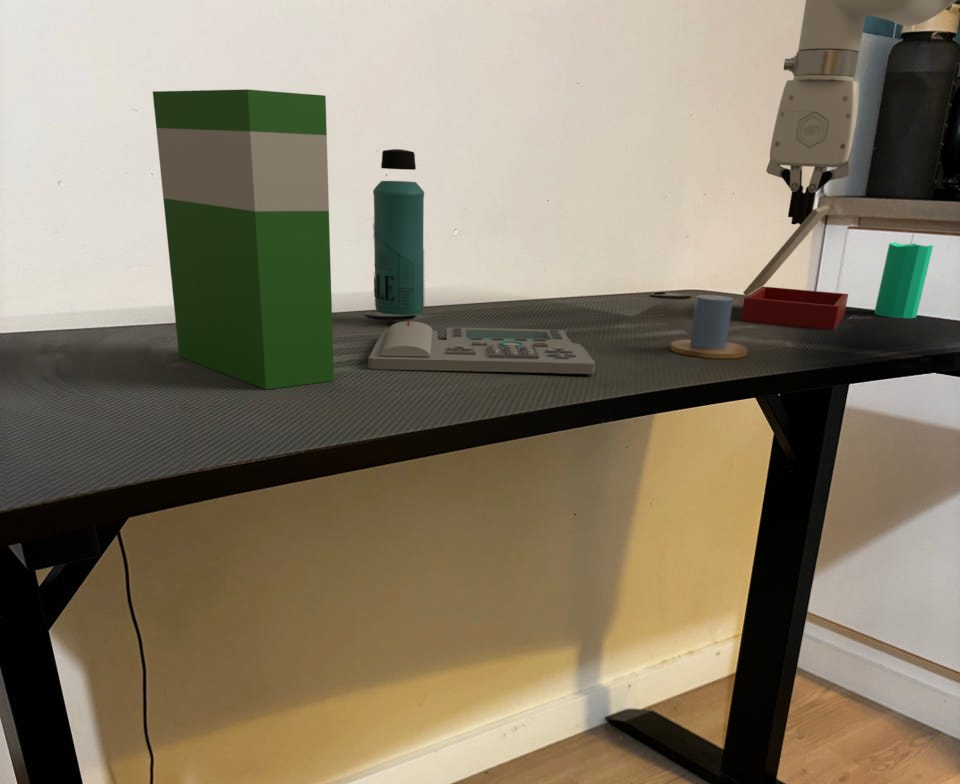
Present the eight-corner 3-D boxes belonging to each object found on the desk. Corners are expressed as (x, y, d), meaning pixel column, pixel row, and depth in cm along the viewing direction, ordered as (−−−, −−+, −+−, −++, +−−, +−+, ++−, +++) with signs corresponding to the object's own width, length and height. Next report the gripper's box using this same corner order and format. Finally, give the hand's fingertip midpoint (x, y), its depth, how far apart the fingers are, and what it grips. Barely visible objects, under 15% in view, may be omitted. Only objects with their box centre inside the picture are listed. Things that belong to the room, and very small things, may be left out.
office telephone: (367, 344, 97) (380, 313, 115) (368, 371, 98) (380, 336, 116) (596, 350, 98) (574, 318, 116) (594, 376, 99) (572, 340, 117)
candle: (921, 323, 142) (942, 235, 136) (881, 321, 142) (900, 233, 136) (906, 317, 147) (926, 232, 142) (867, 315, 147) (885, 230, 142)
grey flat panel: (830, 208, 137) (826, 204, 137) (818, 212, 124) (814, 208, 124) (764, 285, 144) (760, 281, 144) (746, 296, 131) (742, 293, 131)
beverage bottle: (432, 321, 126) (434, 150, 117) (412, 329, 120) (413, 150, 111) (386, 317, 128) (385, 148, 119) (364, 324, 122) (362, 147, 113)
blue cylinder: (728, 345, 116) (736, 297, 113) (722, 350, 112) (729, 301, 110) (694, 341, 117) (700, 293, 114) (686, 346, 114) (693, 297, 111)
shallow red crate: (843, 320, 142) (848, 293, 140) (832, 335, 129) (838, 306, 127) (757, 312, 146) (762, 286, 144) (739, 325, 133) (744, 297, 132)
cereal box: (179, 356, 100) (152, 91, 89) (243, 349, 104) (225, 96, 94) (265, 389, 88) (247, 89, 78) (333, 380, 93) (325, 95, 82)
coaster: (752, 349, 117) (753, 344, 117) (739, 361, 110) (740, 356, 109) (679, 341, 120) (680, 336, 120) (662, 353, 113) (662, 347, 112)
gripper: (761, 66, 123) (738, 221, 132) (885, 67, 118) (853, 229, 126) (770, 71, 129) (748, 219, 138) (888, 72, 124) (857, 226, 133)
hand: (798, 223), depth 132 cm, fingers closed
